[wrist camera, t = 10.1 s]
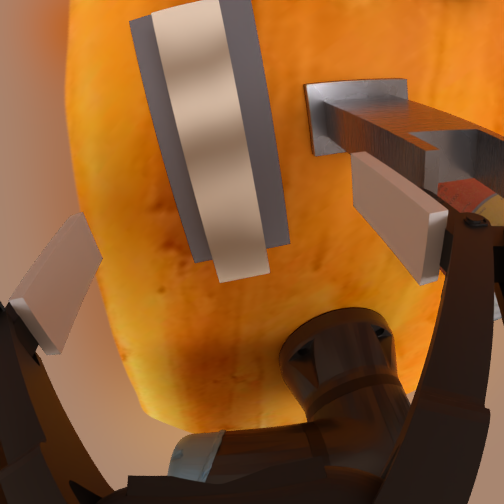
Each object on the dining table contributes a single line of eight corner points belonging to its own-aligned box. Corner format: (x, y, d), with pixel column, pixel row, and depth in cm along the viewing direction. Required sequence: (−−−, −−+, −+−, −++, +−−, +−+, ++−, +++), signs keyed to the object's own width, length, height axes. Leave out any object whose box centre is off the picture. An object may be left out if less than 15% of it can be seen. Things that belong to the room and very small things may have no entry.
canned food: (487, 225, 32) (547, 283, 22) (418, 267, 35) (471, 340, 25) (478, 144, 27) (560, 192, 17) (398, 186, 29) (473, 255, 19)
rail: (261, 239, 30) (270, 273, 25) (218, 248, 30) (219, 282, 25) (217, 10, 19) (218, -3, 14) (163, 22, 19) (151, 13, 14)
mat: (288, 240, 31) (290, 243, 30) (195, 259, 31) (194, 263, 30) (248, -5, 18) (249, -7, 18) (131, 22, 19) (129, 21, 18)
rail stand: (404, 142, 26) (519, 217, 14) (312, 153, 26) (396, 248, 14) (372, -80, 14) (479, -135, 2) (269, -86, 14) (321, -187, 2)
